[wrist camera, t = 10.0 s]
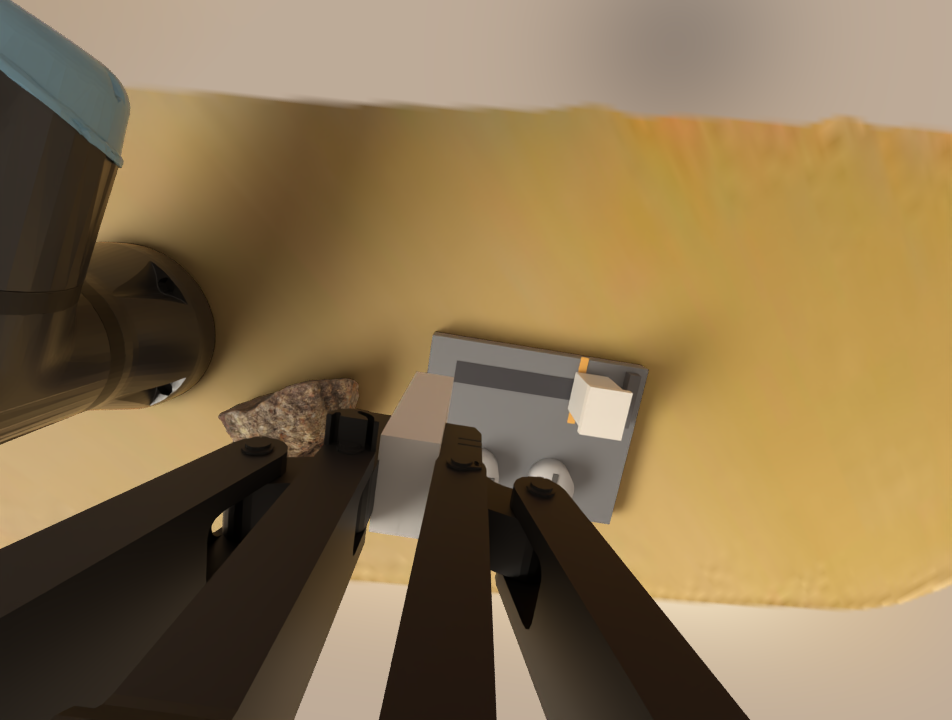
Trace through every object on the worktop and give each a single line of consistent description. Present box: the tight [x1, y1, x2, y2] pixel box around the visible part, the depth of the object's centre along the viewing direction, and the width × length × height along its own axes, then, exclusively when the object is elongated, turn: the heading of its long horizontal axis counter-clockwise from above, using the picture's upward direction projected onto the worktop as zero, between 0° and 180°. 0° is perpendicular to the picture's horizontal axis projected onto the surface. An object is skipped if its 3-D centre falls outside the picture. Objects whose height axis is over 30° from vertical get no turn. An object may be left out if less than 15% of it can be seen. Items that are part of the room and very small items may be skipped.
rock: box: [218, 378, 359, 457], centre depth 40 cm, size 14×9×10 cm
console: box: [427, 332, 649, 524], centre depth 41 cm, size 20×16×5 cm
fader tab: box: [568, 372, 633, 441], centre depth 37 cm, size 3×4×6 cm
